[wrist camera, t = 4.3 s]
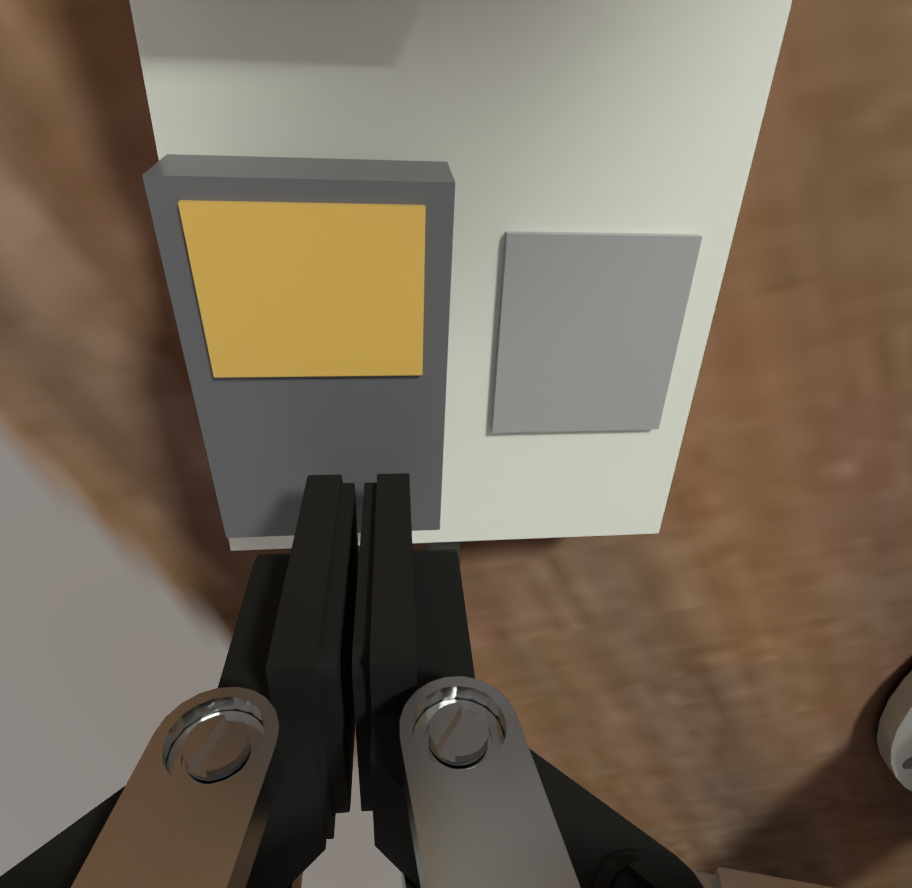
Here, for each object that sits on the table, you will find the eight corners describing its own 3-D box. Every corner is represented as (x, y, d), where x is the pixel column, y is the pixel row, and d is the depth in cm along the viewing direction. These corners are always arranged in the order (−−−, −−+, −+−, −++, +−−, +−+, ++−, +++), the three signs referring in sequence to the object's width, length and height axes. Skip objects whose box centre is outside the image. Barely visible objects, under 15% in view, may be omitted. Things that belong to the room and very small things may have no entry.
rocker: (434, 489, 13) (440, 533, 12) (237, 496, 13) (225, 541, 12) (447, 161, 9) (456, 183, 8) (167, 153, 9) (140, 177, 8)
